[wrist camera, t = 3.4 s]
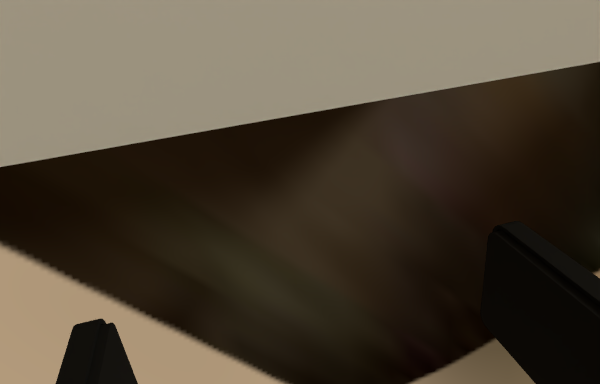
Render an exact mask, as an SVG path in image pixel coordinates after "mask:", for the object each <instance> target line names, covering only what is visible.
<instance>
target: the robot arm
mask: <svg viewBox="0 0 600 384" xmlns="http://www.w3.org/2000/svg"><path fill="white" fill-rule="evenodd" d="M481 318H482V321H483V323H484V325H485V326H486V327H487V328H488V330H489V331H490V332H491V333H492V334H493V335H494V336H495V338H496V339H497V340H498V341H499V342H500V343H501V344H502V346H503V347H504V348H505V349H506V350H507V351H508V352H509V354H510V355H511V356H512V357H513V358H514V359H515V360H516V362H517V363H518V364H519V365H520V366H521V367H522V368H523V370H524V371H525V372H526V373H527V374H528V375H529V376H530V378H531V379H532V380H533V381H534V382H535V383H536V384H600V278H598V277H597V276H595V275H594V274H593V273H591V272H590V271H588V270H587V269H586V268H584V267H583V266H581V265H580V264H579V263H577V262H576V261H575V260H573V259H572V258H570V257H569V256H568V255H566V254H565V253H563V252H562V251H561V250H559V249H558V248H556V247H555V246H554V245H552V244H551V243H550V242H548V241H547V240H545V239H544V238H543V237H541V236H540V235H538V234H537V233H536V232H534V231H533V230H531V229H530V228H529V227H527V226H526V225H524V224H523V223H521V222H519V221H514V222H510V223H506V224H502V225H497V226H495V227H494V229H493V232H492V233H490V234H489V236H488V243H487V253H486V263H485V272H484V282H483V292H482V302H481ZM56 384H138V383H137V381H136V378H135V376H134V373H133V370H132V368H131V365H130V362H129V360H128V357H127V355H126V352H125V350H124V347H123V344H122V342H121V339H120V337H119V334H118V332H117V329H116V327H115V325H114V324H113V323H109V324H106V323H105V321H104V320H103V319H98V320H93V321H89V322H84V323H80V324H76V325H75V326H74V327H73V329H72V332H71V335H70V339H69V342H68V345H67V349H66V352H65V355H64V359H63V362H62V365H61V368H60V372H59V375H58V378H57V381H56Z"/></svg>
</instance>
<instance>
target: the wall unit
mask: <svg viewBox="0 0 600 384" xmlns="http://www.w3.org/2000/svg"><path fill="white" fill-rule="evenodd" d="M596 62H600V0H0V167H3V166H9V165H15V164H20V163H26V162H32V161H37V160H43V159H49V158H54V157H60V156H66V155H72V154H77V153H83V152H89V151H94V150H100V149H106V148H111V147H117V146H123V145H129V144H134V143H140V142H146V141H151V140H157V139H163V138H168V137H174V136H180V135H185V134H191V133H197V132H203V131H208V130H214V129H220V128H225V127H231V126H237V125H242V124H248V123H254V122H259V121H265V120H271V119H277V118H282V117H288V116H294V115H299V114H305V113H311V112H316V111H322V110H328V109H334V108H339V107H345V106H351V105H356V104H362V103H368V102H373V101H379V100H385V99H390V98H396V97H402V96H408V95H413V94H419V93H425V92H430V91H436V90H442V89H447V88H453V87H459V86H465V85H470V84H476V83H482V82H487V81H493V80H499V79H504V78H510V77H516V76H521V75H527V74H533V73H539V72H544V71H550V70H556V69H561V68H567V67H573V66H578V65H584V64H590V63H596Z"/></svg>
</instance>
